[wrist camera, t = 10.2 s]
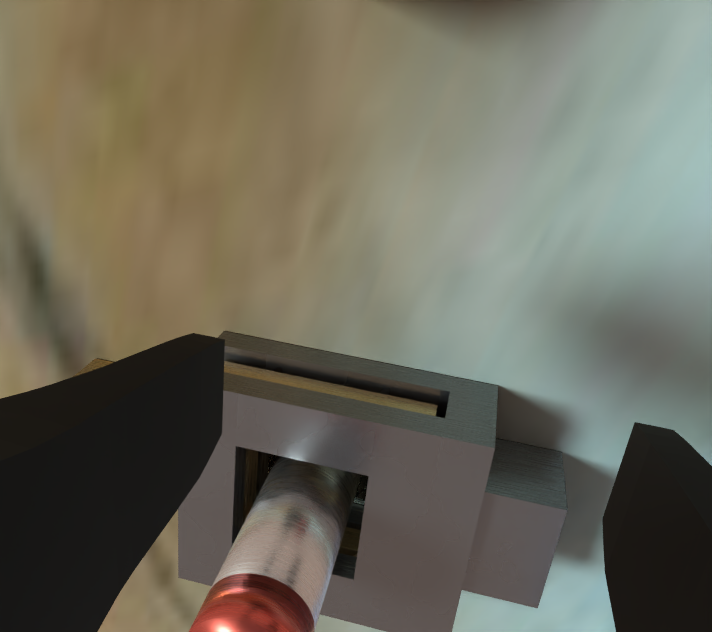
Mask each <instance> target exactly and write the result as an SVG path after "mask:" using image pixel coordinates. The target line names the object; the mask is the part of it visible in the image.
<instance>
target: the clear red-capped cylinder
mask: <svg viewBox="0 0 712 632" xmlns="http://www.w3.org/2000/svg"><path fill="white" fill-rule="evenodd" d="M361 475H362V474H357V473H353V472H349V471H344V470H340V469H335V468H331V467H326V466H322V465H318V464H313V463H309V462H304V461H300V460H295V459H291V458H287V457H282V456H277V458H276V460H275V462H274V464H273V466H272V468H271V470H270V472H269V474H268V476H267V478H266V480H265V482H264V484H263V486H262V488H261V490H260V492H259V494H258V496H257V498H256V500H255V502H254V504H253V506H252V508H251V510H250V512H249V514H248V516H247V518H246V520H245V522H244V524H243V526H242V528H241V530H240V532H239V534H238V536H237V538H236V540H235V541H234V543H233V545H232V547H231V549H230V551H229V553H228V555H227V557H226V559H225V561H224V563H223V565H222V567H221V569H220V571H219V573H218V575H217V577H216V579H215V581H214V583H213V585H212V587H211V589H210V591H209V593H208V595H207V597H206V599H205V601H204V603H203V605H202V607H201V609H200V611H199V613H198V615H197V617H196V619H195V621H194V623H193V625H192V627H191V628H190V630H189V632H314V631H315V628H316V624H317V621H318V618H319V614H320V611H321V608H322V604H323V601H324V598H325V594H326V591H327V588H328V584H329V581H330V578H331V575H332V571H333V568H334V565H335V561H336V558H337V555H338V551H339V548H340V545H341V541H342V538H343V535H344V531H345V528H346V525H347V521H348V518H349V515H350V512H351V508H352V505H353V502H354V498H355V495H356V492H357V488H358V485H359V482H360V478H361Z"/></svg>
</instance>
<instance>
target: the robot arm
mask: <svg viewBox="0 0 712 632" xmlns="http://www.w3.org/2000/svg"><path fill="white" fill-rule="evenodd" d="M224 353H225V339H220V338H215V337H210V336H205V335H200V334H195V333H193V334H189V335H185V336H182V337H179V338H176V339H173V340H170V341H168V342H165V343H162V344H160V345H157V346H155V347H152V348H150V349H147V350H144V351H142V352H139V353H137V354H134V355H132V356H129V357H127V358H124V359H121V360H119V361H116V362H114V363H111V364H109V365H106V366H103V367H101V368H98V369H95V370H92V371H89V372H86V373H83V374H80V375H77V376H75V377H72V378H69V379H66V380H63V381H60V382H57V383H54V384H51V385H48V386H45V387H42V388H38V389H35V390H31V391H28V392H24V393H21V394H17V395H13V396H9V397H5V398H1V399H0V632H97V631H98V630H99V628H100V626H101V624H102V622H103V621H104V619H105V617H106V615H107V614H108V612H109V610H110V608H111V607H112V605H113V603H114V601H115V599H116V598H117V596H118V594H119V593H120V591H121V589H122V588H123V586H124V585H125V583H126V582H127V580H128V579H129V577H130V576H131V574H132V572H133V571H134V570H135V568H136V567H137V565H138V564H139V563H140V561H141V560H142V558H143V557H144V556H145V554H146V553H147V551H148V550H149V549H150V547H151V546H152V544H153V543H154V542H155V540H156V539H157V537H158V536H159V535H160V533H161V532H162V530H163V529H164V528H165V526H166V525H167V523H168V522H169V521H170V519H171V518H172V516H173V515H174V514H175V512H176V511H177V509H178V508H179V507H180V505H181V504H182V502H183V501H184V499H185V498H186V497H187V495H188V494H189V492H190V491H191V489H192V488H193V486H194V485H195V484H196V482H197V481H198V479H199V478H200V476H201V474H202V472H203V470H204V468H205V466H206V465H207V463H208V461H209V459H210V457H211V455H212V453H213V451H214V449H215V447H216V445H217V443H218V441H219V439H220V437H221V435H222V420H223V387H224ZM603 545H604V562H605V574H606V580H607V586H608V591H609V596H610V602H611V607H612V612H613V618H614V623H615V628H616V632H712V466H711V465H710V464H709V463H708V462H707V461H706V460H705V459H704V458H703V457H702V456H701V455H700V454H699V453H698V452H697V451H696V450H695V449H694V448H693V447H692V446H691V445H690V444H689V443H688V442H686V441H685V440H684V439H683V438H682V437H681V436H680V435H679V434H677V433H676V432H675V431H674V430H671V429H666V428H661V427H656V426H651V425H646V424H641V423H636V422H635V423H634V426H633V429H632V432H631V435H630V438H629V441H628V444H627V447H626V450H625V453H624V456H623V459H622V462H621V465H620V468H619V471H618V474H617V477H616V480H615V483H614V486H613V489H612V492H611V495H610V498H609V501H608V504H607V507H606V510H605V513H604V516H603Z"/></svg>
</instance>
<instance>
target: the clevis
mask: <svg viewBox="0 0 712 632" xmlns="http://www.w3.org/2000/svg"><path fill="white" fill-rule="evenodd" d="M218 338H220V339H225V353H224V387H223V420H222V435H221V437H220V439H219V441H218V443H217V445H216V447H215V449H214V451H213V453H212V455H211V457H210V459H209V461H208V463H207V465H206V466H205V468H204V470H203V472H202V474H201V476H200V478H199V479H198V481H197V482H196V484H195V485H194V486H193V488H192V489H191V491H190V492H189V494H188V495H187V497H186V498H185V499H184V501H183V502H182V504H181V505H180V507H179V508H178V568H179V578H182V579H186V580H190V581H194V582H198V583H202V584H206V585H209V586H212V585H213V583H214V581H215V579H216V577H217V575H218V573H219V571H220V569H221V567H222V565H223V563H224V561H225V559H226V557H227V555H228V553H229V551H230V549H231V547H232V545H233V543H234V541H235V540H236V538H237V536H238V534H239V532H240V530H241V528H242V526H243V524H244V522H245V520H246V518H247V516H248V514H249V512H250V510H251V508H252V506H253V504H254V502H255V500H256V498H257V496H258V494H259V492H260V490H261V488H262V486H263V484H264V482H265V480H266V478H267V474H268V459H269V454H273V455H278V456H282V457H287V458H291V459H295V460H300V461H304V462H309V463H313V464H318V465H322V466H326V467H331V468H335V469H340V470H344V471H349V472H353V473H357V474H362V475H366V476H369V477H368V484H367V491H366V498H365V505H364V506H363V505H359V504H355V503H353V505H352V508H351V512H350V515H349V518H348V521H347V525H346V528H345V531H344V535H343V538H342V541H341V545H340V548H339V551H338V555H337V558H336V561H335V565H334V568H333V571H332V575H331V578H330V581H329V584H328V588H327V591H326V594H325V598H324V601H323V604H322V608H321V611H320V614H321V615H325V616H329V617H333V618H337V619H341V620H344V621H348V622H352V623H356V624H360V625H364V626H368V627H371V628H375V629H379V630H383V631H387V632H452V628H453V624H454V620H455V615H456V611H457V607H458V603H459V598H460V594H461V590H465V591H469V592H473V593H477V594H482V595H486V596H490V597H494V598H498V599H502V600H506V601H510V602H514V603H518V604H522V605H526V606H530V607H534V608H538V605H539V602H540V599H541V596H542V592H543V589H544V586H545V583H546V579H547V576H548V573H549V569H550V566H551V563H552V560H553V556H554V553H555V550H556V547H557V543H558V540H559V537H560V533H561V530H562V527H563V524H564V520H565V517H566V514H567V511H568V510H567V501H566V491H565V481H564V471H563V462H562V452H558V451H554V450H549V449H544V448H539V447H535V446H530V445H525V444H520V443H516V442H511V441H506V440H501V439H497V438H496V419H497V399H498V386H497V385H492V384H487V383H482V382H477V381H472V380H467V379H462V378H457V377H452V376H447V375H442V374H437V373H432V372H427V371H422V370H417V369H412V368H407V367H402V366H397V365H392V364H387V363H382V362H377V361H372V360H367V359H362V358H357V357H352V356H347V355H342V354H337V353H332V352H327V351H322V350H317V349H312V348H306V347H301V346H296V345H291V344H286V343H281V342H276V341H271V340H266V339H261V338H256V337H251V336H246V335H241V334H236V333H231V332H226V331H224V332H223V333H222V334H221V335H220V336H219V337H218ZM111 363H114V362H110V361H106V360H101V359H94V360H93V361H92V362H91V363H89V364H88V365H87V366H86V367H84V368H83V369H82V370H81V371H80V372H78V373H77V374H76V375H75V376H77V375H80V374H83V373H86V372H89V371H92V370H95V369H98V368H101V367H103V366H106V365H109V364H111ZM75 376H73V377H75Z"/></svg>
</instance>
